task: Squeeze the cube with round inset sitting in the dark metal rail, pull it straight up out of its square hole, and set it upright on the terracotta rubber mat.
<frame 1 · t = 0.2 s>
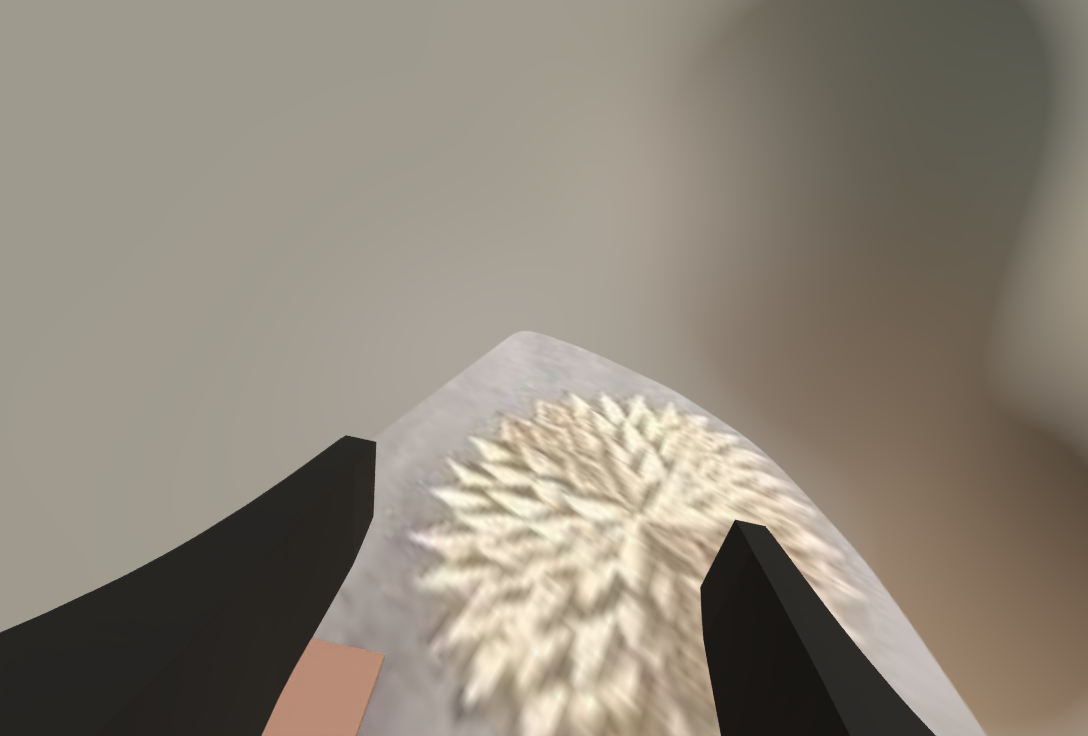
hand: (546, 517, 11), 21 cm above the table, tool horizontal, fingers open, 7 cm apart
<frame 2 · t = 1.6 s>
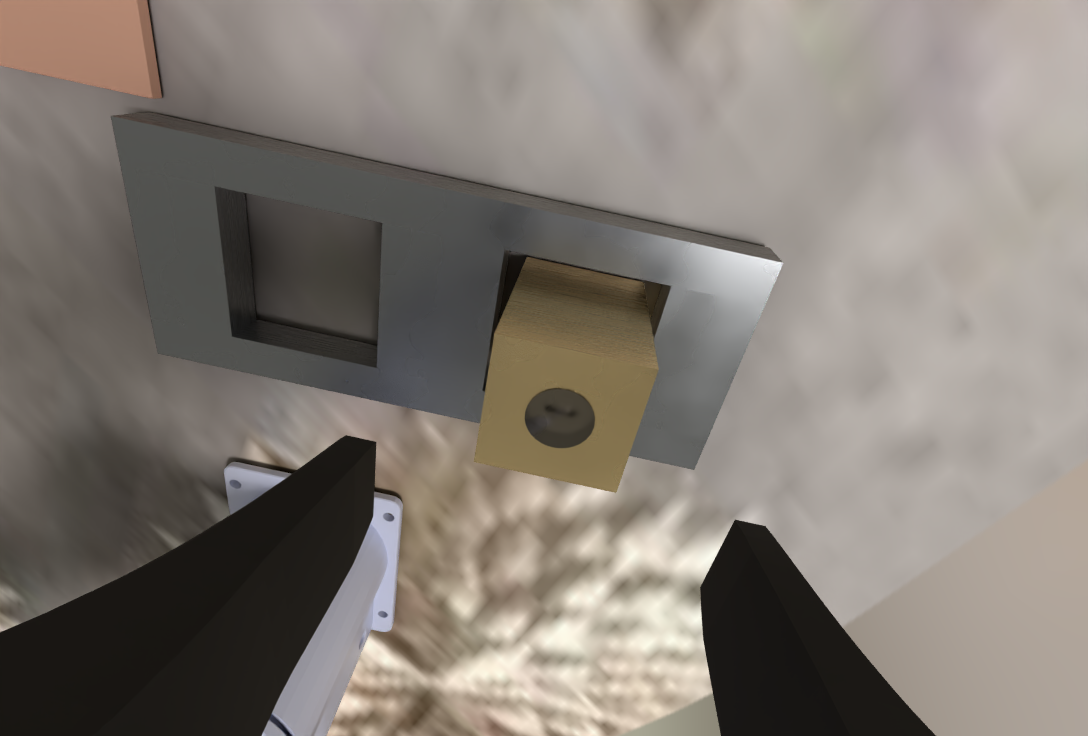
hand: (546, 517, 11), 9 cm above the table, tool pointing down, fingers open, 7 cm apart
cube with round inset: (572, 322, 19), resting in metal rail
metal rail: (447, 296, 19), on the table
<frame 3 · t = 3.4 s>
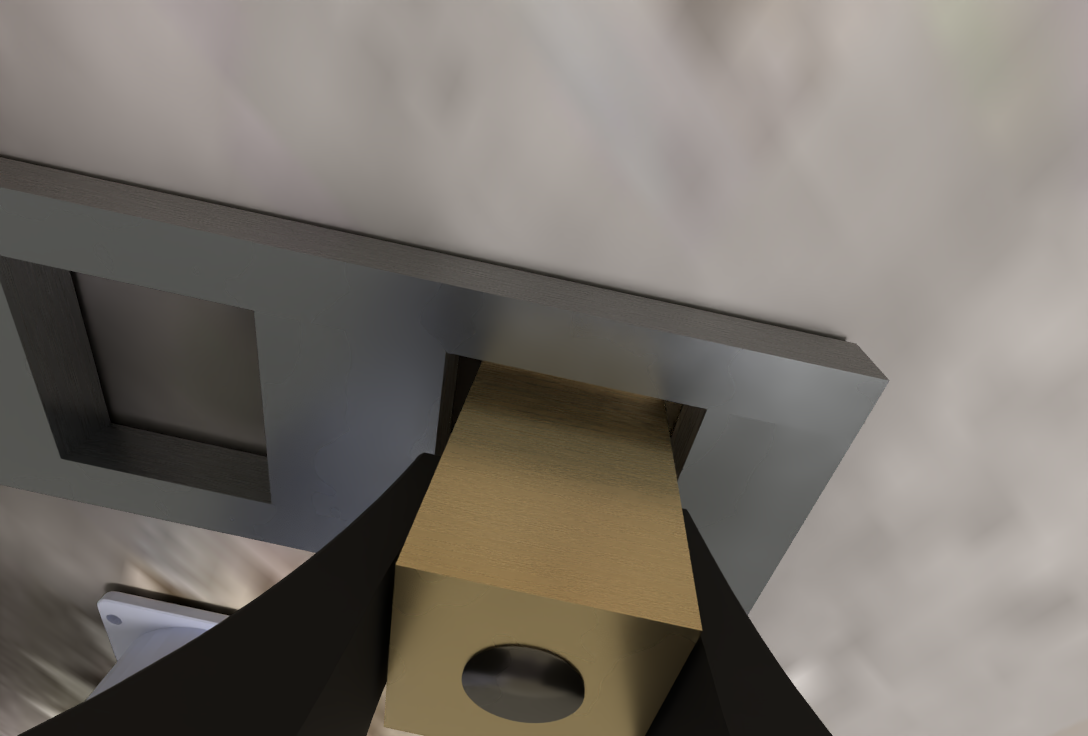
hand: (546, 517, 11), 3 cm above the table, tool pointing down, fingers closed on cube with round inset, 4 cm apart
cube with round inset: (556, 438, 13), resting in metal rail, touching gripper
metal rail: (374, 399, 13), on the table
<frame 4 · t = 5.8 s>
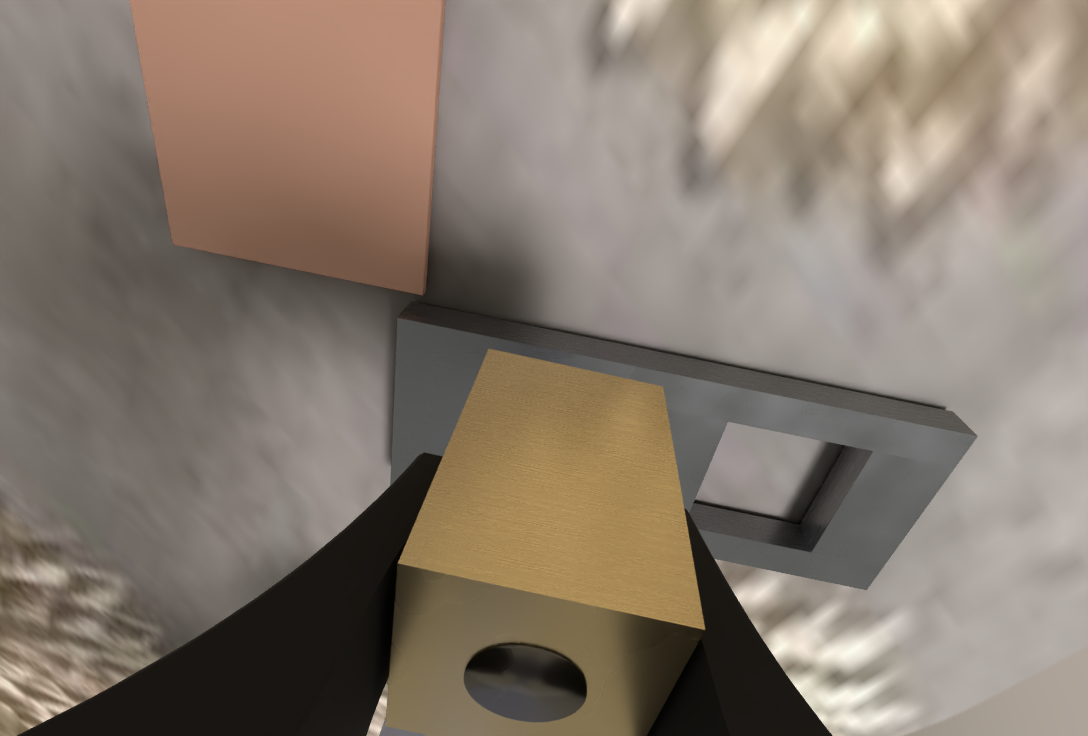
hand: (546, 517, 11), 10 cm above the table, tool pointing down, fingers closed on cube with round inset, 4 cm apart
cube with round inset: (558, 437, 13), point 7 cm above the table, touching gripper
terracotta mat: (294, 115, 17), on the table
metal rail: (651, 442, 21), on the table
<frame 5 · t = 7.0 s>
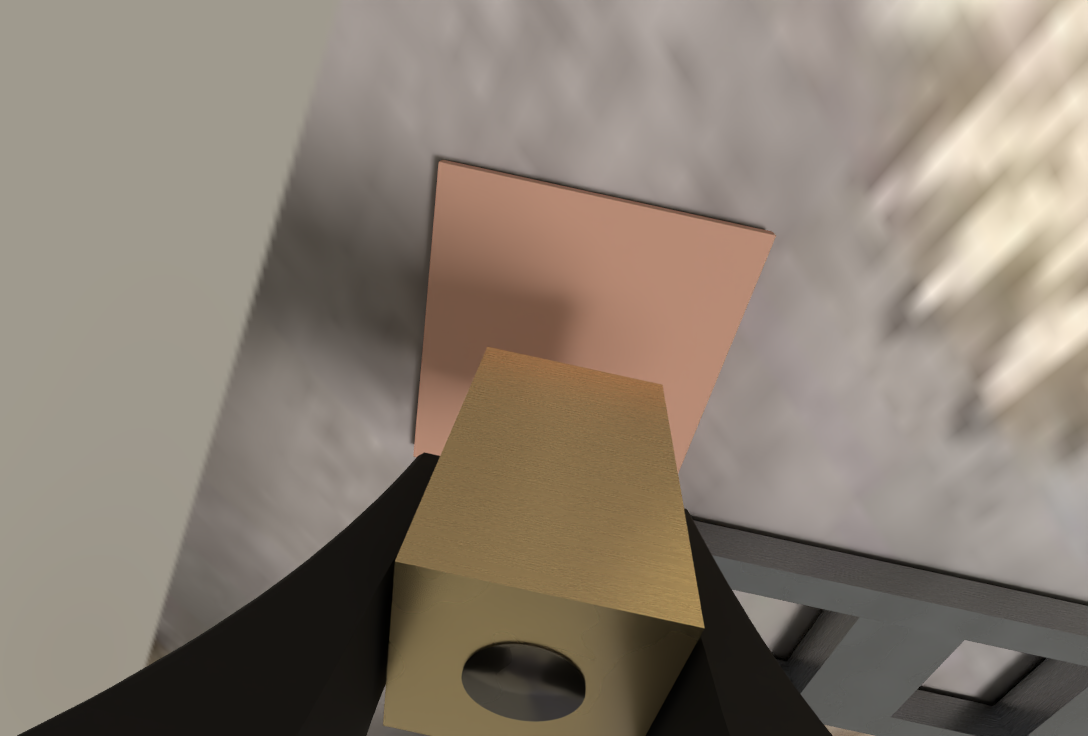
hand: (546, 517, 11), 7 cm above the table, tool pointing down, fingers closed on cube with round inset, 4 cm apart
cube with round inset: (557, 435, 13), point 4 cm above the table, touching gripper
terracotta mat: (568, 356, 17), on the table
metal rail: (859, 633, 22), on the table
when the fingers open (5 cm above the table, at t = 8.2 s): cube with round inset drops 2 cm, resting on terracotta mat.
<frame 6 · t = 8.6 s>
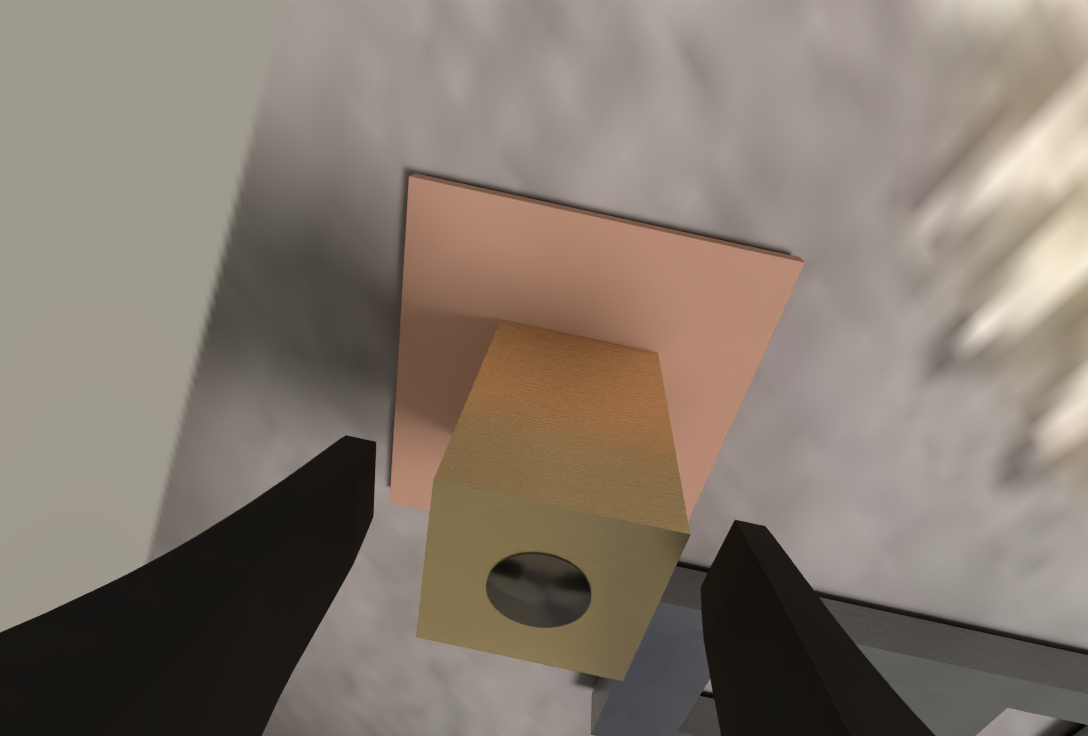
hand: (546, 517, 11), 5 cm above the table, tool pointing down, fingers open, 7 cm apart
cube with round inset: (563, 401, 14), resting on terracotta mat
terracotta mat: (562, 395, 15), on the table
metal rail: (885, 691, 20), on the table
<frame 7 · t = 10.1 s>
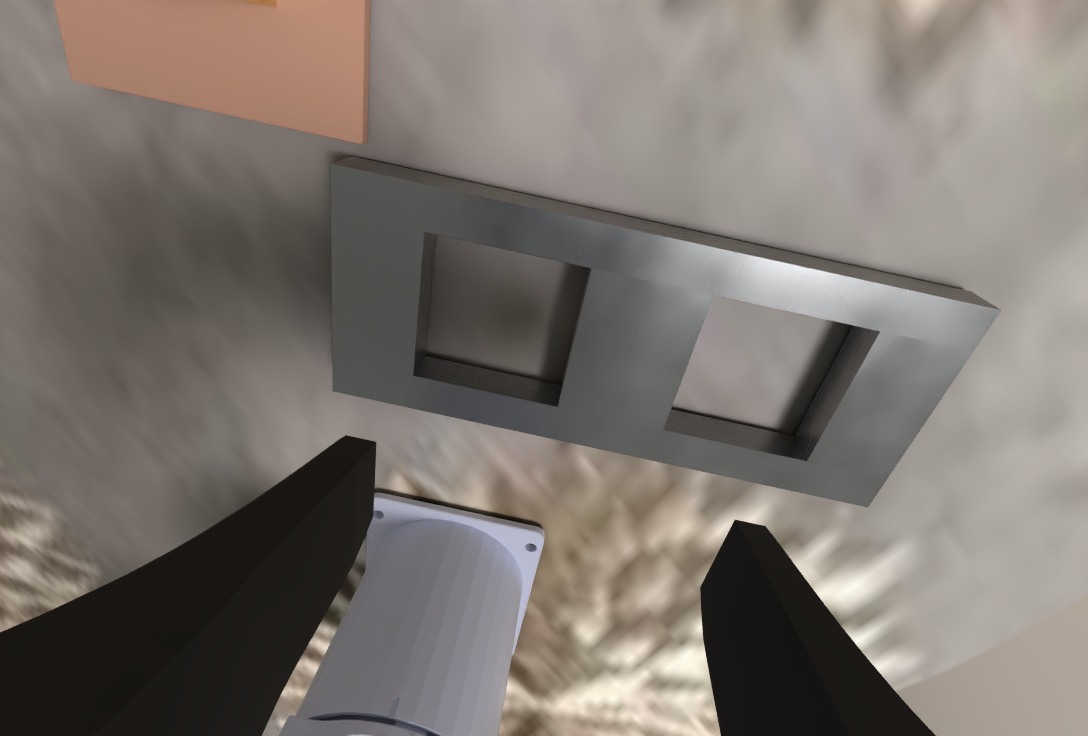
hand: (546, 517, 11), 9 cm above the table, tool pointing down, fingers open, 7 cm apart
metal rail: (628, 335, 19), on the table
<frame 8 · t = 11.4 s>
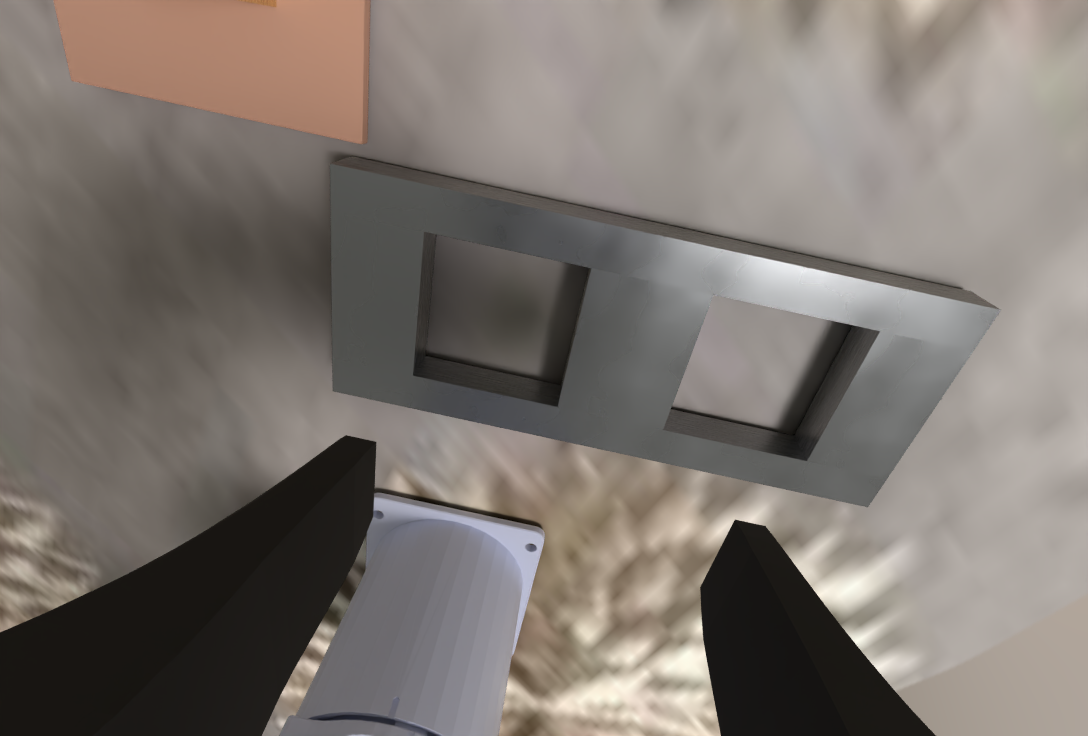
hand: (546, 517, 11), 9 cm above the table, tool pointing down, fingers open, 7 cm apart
metal rail: (628, 335, 19), on the table
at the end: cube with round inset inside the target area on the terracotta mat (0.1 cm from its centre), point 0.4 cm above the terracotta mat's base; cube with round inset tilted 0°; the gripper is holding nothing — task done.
